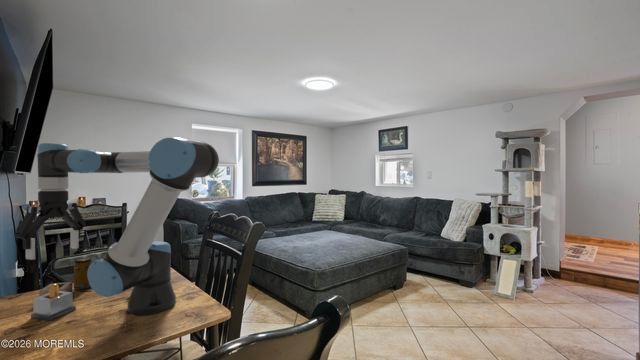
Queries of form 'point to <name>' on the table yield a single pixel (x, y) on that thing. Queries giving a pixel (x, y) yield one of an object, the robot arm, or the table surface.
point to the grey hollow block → (52, 303)
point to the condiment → (81, 275)
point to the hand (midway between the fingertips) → (53, 253)
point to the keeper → (52, 293)
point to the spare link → (62, 287)
